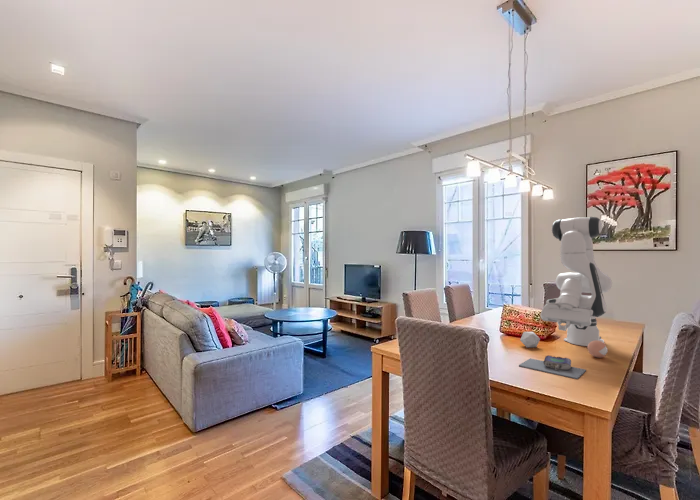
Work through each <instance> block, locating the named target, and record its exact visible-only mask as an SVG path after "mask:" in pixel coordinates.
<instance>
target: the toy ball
mask: <svg viewBox="0 0 700 500" xmlns="http://www.w3.org/2000/svg"><path fill="white" fill-rule="evenodd" d="M587 352H588V353H589V354H590V355H591V356H593V357H594V358H596V359H597V358H598V359H599V358H600V359H601V358H605V357H606V355H607V353H608V348H607V345H606V343H605V342H604V343H603V342H601V341H597V340H595V341H591V342H590V343H589V344H588V346H587Z"/></svg>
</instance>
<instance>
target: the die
mask: <svg viewBox="0 0 700 500" xmlns="http://www.w3.org/2000/svg"><path fill="white" fill-rule="evenodd" d="M540 340H541V338H540V337H539V336H538V335H537V334H536V333H535V332H534V331H523V332H522V335H521V337H520V340H519V341H520V342H521V343H522V344H523V345H524V346H525V347H526V348H530V349H531V348H532V349H533V348H537V347H538V345H539V342H540Z"/></svg>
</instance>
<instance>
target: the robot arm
mask: <svg viewBox="0 0 700 500" xmlns="http://www.w3.org/2000/svg"><path fill="white" fill-rule="evenodd" d="M601 221H602V220H600V218H599V217H596V216H590V217H587V216H584V217H582V216H581V217H579V216H578V217H572V218H570V217H569V218H565V219H561V218H560V219H557V220H555V221H554V222H552V226H551V233H552V236H553V237H554V239H556V240H558V241H560V248H559V250H560V252H559V253H560V255H559V256H560V262H561V264H562V265H563V267H565V268H566V269H568V270H570V271H571V272H570V271H567V272H562V273H561V272H560V273H558V275H557V276H556V278H555V285H556V287H557V289H558V290H560V292H559V296H558V297H555V298H550V299H547V300H546V301H545V304H544V306H542V309H541V312H540V319H541V320H542V321H544V322H552V323H557V325H558V330H559V331H565V332H566V337H565V338H563V341H564V342H568V343H570V344H573V345H576V346H582V347H588V344H589V343H590V342H591V341H595V340H597V341H601V342H603V343H605V340H604V339H602V336H600V329H599V328H598V321H597V318H598V317H601V316H603V315H604V314H606V312H607V304H606V300H605V298H604V294H605V293H608V292H609V291H610V290H611V289H612V287H613V282H612V279H611V277H610V276H609V275H608V274H606V273H605V272H603V271H602V270H601V269H600V268H599V267H598V265H597V264H596V262H595V256H594V245H593V239H595V238H596V237H599V236H600V235H601V233H602V230H603V223H602V222H601ZM582 293H584V294H582ZM585 293H586V294H591V295H585ZM562 324H563V325H562Z"/></svg>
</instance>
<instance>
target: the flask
mask: <svg viewBox="0 0 700 500" xmlns="http://www.w3.org/2000/svg"><path fill="white" fill-rule="evenodd" d="M543 361H544V362H543V363H544V365H545V366H547V367H550V368H554V369H556V370H557V369H558V370H559V369H560V370H568V369H570V368H571V367H572V366H571V365H572V360H571V359H570V358H568V357H561V356H552V355H545V356H544V360H543Z"/></svg>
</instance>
